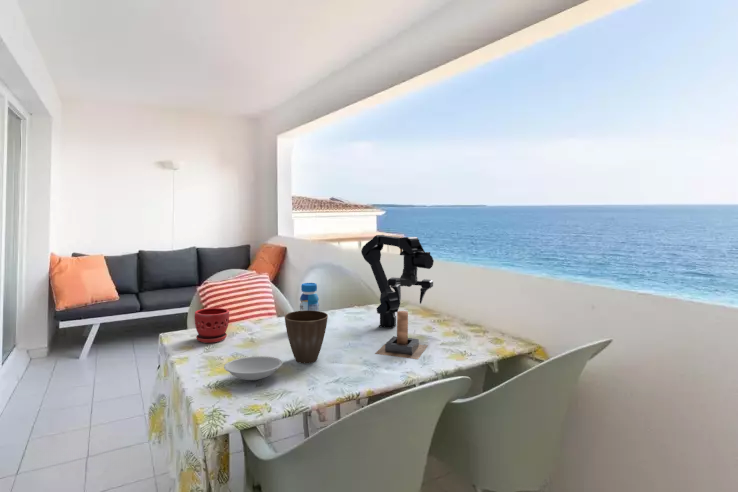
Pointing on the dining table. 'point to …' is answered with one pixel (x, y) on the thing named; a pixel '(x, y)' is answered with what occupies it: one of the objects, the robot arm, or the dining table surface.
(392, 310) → the robot arm
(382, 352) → the walnut board
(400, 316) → the terracotta pin
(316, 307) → the beverage bottle
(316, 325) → the plant pot
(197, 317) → the plant pot
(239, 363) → the dish
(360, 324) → the dining table surface
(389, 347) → the black collar
